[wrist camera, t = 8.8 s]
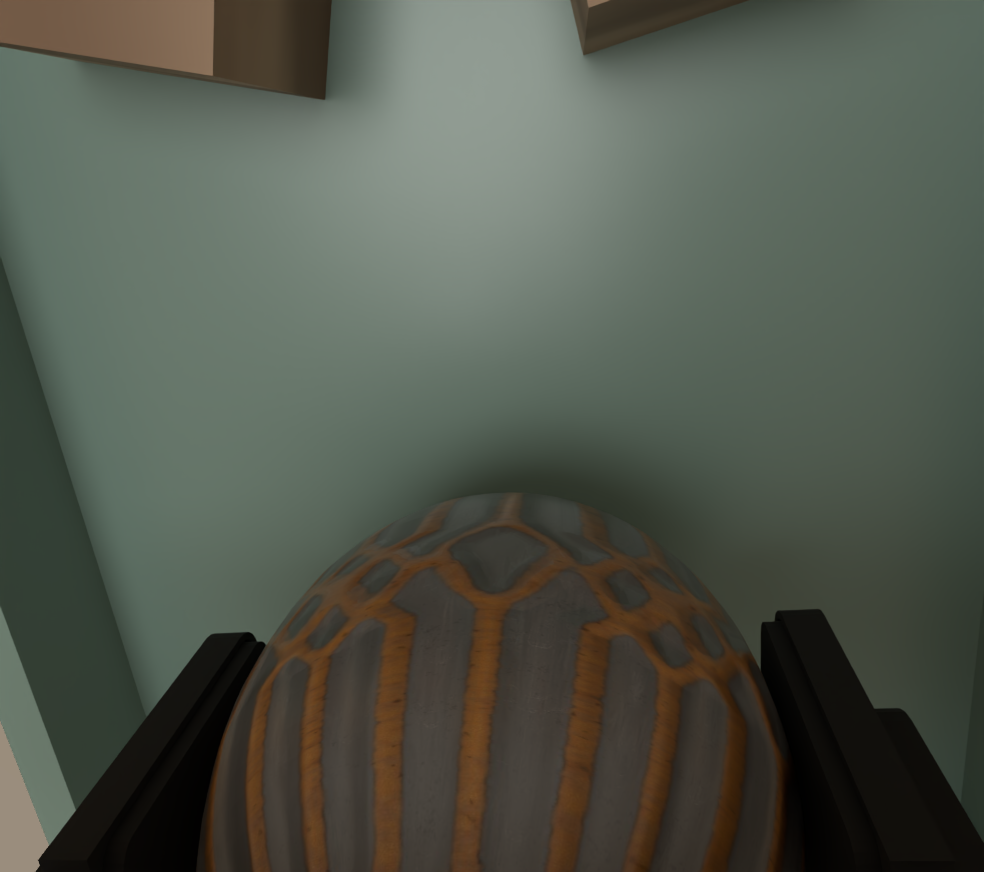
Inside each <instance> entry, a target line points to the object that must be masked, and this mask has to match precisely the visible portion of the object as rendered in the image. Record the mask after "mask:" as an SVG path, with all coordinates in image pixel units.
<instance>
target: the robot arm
mask: <svg viewBox="0 0 984 872" xmlns="http://www.w3.org/2000/svg"><path fill="white" fill-rule="evenodd" d="M265 646H266V644H265V643H264V642H262V641H257V640H256V638H255V636H254V635H253V634H252V633H250V632H234V633H214V634H211V635H210V636H208V637H207V638H206V640H205V641H204V642H203V644H202V645H201V646H200V648H199V649H198V650H197V652H196V653H195V654H194V655H193V657H192V658H191V659H190V661H189V662H188V663H187V665H186V666H185V667H184V669H183V670H182V671H181V673H180V674H179V675H178V677H177V678H176V679H175V680H174V682H173V683H172V684H171V686H170V687H169V688H168V690H167V691H166V692H165V694H164V695H163V696H162V698H161V699H160V700H159V702H158V703H157V704H156V706H155V707H154V708H153V709H152V711H151V712H150V713H149V715H148V716H147V717H146V719H145V720H144V721H143V723H142V724H141V725H140V727H139V728H138V729H137V731H136V732H135V733H134V734H133V736H132V737H131V738H130V740H129V741H128V742H127V744H126V745H125V746H124V748H123V749H122V750H121V752H120V753H119V754H118V756H117V757H116V758H115V760H114V761H113V762H112V763H111V765H110V766H109V767H108V769H107V770H106V771H105V773H104V774H103V775H102V777H101V778H100V779H99V781H98V782H97V783H96V785H95V786H94V787H93V788H92V790H91V791H90V792H89V794H88V795H87V796H86V798H85V799H84V800H83V802H82V803H81V804H80V806H79V807H78V808H77V810H76V811H75V812H74V814H73V815H72V816H71V817H70V819H69V820H68V821H67V823H66V824H65V825H64V827H63V828H62V829H61V831H60V832H59V833H58V835H57V836H56V837H55V839H54V840H53V841H52V842H51V844H50V845H49V846H48V848H47V849H46V850H45V852H44V853H43V854H42V856H41V857H40V858H39V860H38V861H39V864H40V866H39V868H38V869H37V870H36V872H196V865H197V856H198V848H199V840H200V832H201V824H202V818H203V813H204V808H205V803H206V798H207V793H208V788H209V784H210V779H211V775H212V771H213V767H214V764H215V760H216V756H217V753H218V749H219V746H220V743H221V740H222V737H223V734H224V731H225V728H226V725H227V723H228V720H229V717H230V715H231V712H232V710H233V707H234V705H235V702H236V700H237V698H238V696H239V693H240V691H241V689H242V687H243V685H244V683H245V681H246V679H247V678H248V676H249V674H250V672H251V670H252V669H253V667H254V665H255V663H256V662H257V660H258V658H259V656H260V655H261V653H262V651H263V649H264V648H265ZM761 673H762V675H763V677H764V679H765V681H766V684H767V686H768V689H769V691H770V693H771V696H772V698H773V701H774V703H775V706H776V708H777V711H778V714H779V716H780V719H781V721H782V724H783V727H784V731H785V734H786V738H787V741H788V744H789V748H790V751H791V755H792V758H793V762H794V766H795V769H796V774H797V780H798V787H799V793H800V799H801V806H802V812H803V819H804V834H805V855H806V872H984V842H983V841H982V839H981V837H980V835H979V834H978V832H977V830H976V829H975V827H974V825H973V824H972V822H971V820H970V818H969V817H968V815H967V813H966V812H965V810H964V808H963V807H962V805H961V803H960V801H959V800H958V798H957V796H956V795H955V793H954V791H953V790H952V788H951V786H950V784H949V783H948V781H947V779H946V778H945V776H944V774H943V772H942V771H941V769H940V767H939V766H938V764H937V762H936V761H935V759H934V757H933V755H932V754H931V752H930V750H929V749H928V747H927V745H926V744H925V742H924V740H923V738H922V737H921V735H920V733H919V732H918V730H917V728H916V727H915V725H914V723H913V721H912V720H911V719H910V717H909V716H908V714H907V713H906V712H905V711H904V710H902V709H900V708H878V709H874V707H873V705H872V703H871V701H870V700H869V698H868V696H867V694H866V692H865V690H864V688H863V686H862V685H861V683H860V681H859V679H858V677H857V675H856V673H855V671H854V669H853V668H852V666H851V664H850V662H849V660H848V658H847V656H846V654H845V653H844V651H843V649H842V647H841V645H840V643H839V641H838V639H837V638H836V636H835V634H834V632H833V630H832V628H831V626H830V624H829V623H828V621H827V619H826V617H825V615H824V613H823V612H822V611H821V610H820V609H803V610H778V611H777V612H776V614H775V621H773V622H762V624H761Z"/></svg>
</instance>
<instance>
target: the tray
mask: <svg viewBox="0 0 984 872" xmlns="http://www.w3.org/2000/svg"><path fill="white" fill-rule="evenodd" d="M507 492H512V493H532V494H542V495H548V496H554V497H559V498H563V499H567V500H571V501H575V502H578V503H581V504H584V505H587V506H590V507H593V508H596V509H598V510H601V511H603V512H606V513H608V514H611V515H613V516H615V517H617V518H619V519H621V520H623V521H625V522H627V523H629V524H631V525H632V526H634V527H636V528H637V529H639V530H641V531H642V532H644V533H645V534H647V535H648V536H650V537H651V538H653V539H654V540H655V541H657V542H658V543H659V544H661V545H662V546H663V547H664V548H666V549H667V550H668V551H669V552H670V553H672V554H673V555H674V556H675V557H676V558H678V559H679V560H680V561H681V562H682V563H684V564H685V565H686V566H687V567H688V568H689V569H690V570H691V571H692V572H693V573H694V574H695V575H696V576H697V577H698V578H699V579H700V580H701V581H702V583H703V584H704V585H705V586H706V587H707V588H708V589H709V591H710V592H711V593H712V594H713V596H714V597H715V598H716V599H717V600H718V602H719V603H720V604H721V605H722V606H723V608H724V609H725V611H726V612H727V613H728V615H729V616H730V617H731V619H732V620H733V621H734V623H735V624H736V626H737V628H738V629H739V631H740V633H741V634H742V636H743V638H744V639H745V641H746V643H747V645H748V647H749V649H750V651H751V653H752V655H753V657H754V659H755V660H756V662H757V664H758V667H759V669H760V671H761V624H762V622H773V621H775V614H776V612H777V611H778V610H803V609H820V610H821V611H822V612H823V613H824V615H825V617H826V619H827V621H828V623H829V624H830V626H831V628H832V630H833V632H834V634H835V636H836V638H837V639H838V641H839V643H840V645H841V647H842V649H843V651H844V653H845V654H846V656H847V658H848V660H849V662H850V664H851V666H852V668H853V669H854V671H855V673H856V675H857V677H858V679H859V681H860V683H861V685H862V686H863V688H864V690H865V692H866V694H867V696H868V698H869V700H870V701H871V703H872V705H873V707H874V709H878V708H900V709H902V710H904V711H905V712H906V713H907V714H908V716H909V717H910V719H911V720H912V721H913V723H914V725H915V727H916V728H917V730H918V732H919V733H920V735H921V737H922V738H923V740H924V742H925V744H926V745H927V747H928V749H929V750H930V752H931V754H932V755H933V757H934V759H935V761H936V762H937V764H938V766H939V767H940V769H941V771H942V772H943V774H944V776H945V778H946V779H947V781H948V783H949V784H950V786H951V788H952V790H953V791H954V793H955V795H956V796H957V798H958V800H959V801H960V803H961V805H962V807H963V808H964V810H965V812H966V813H967V815H968V817H969V818H970V820H971V822H972V824H973V825H974V827H975V829H976V830H977V832H978V834H979V835H980V837H981V839H982V841H983V842H984V0H748V1H745V2H742V3H739V4H736V5H733V6H730V7H727V8H724V9H721V10H718V11H715V12H712V13H709V14H706V15H703V16H700V17H697V18H694V19H691V20H688V21H685V22H682V23H679V24H676V25H673V26H670V27H667V28H664V29H661V30H658V31H655V32H652V33H649V34H646V35H643V36H640V37H637V38H634V39H631V40H628V41H625V42H622V43H619V44H616V45H613V46H610V47H607V48H604V49H601V50H598V51H595V52H592V53H589V54H586V55H583V52H582V48H581V44H580V40H579V35H578V31H577V27H576V23H575V18H574V14H573V10H572V5H571V1H570V0H332V4H331V19H330V34H329V49H328V64H327V79H326V94H325V100H321V99H314V98H308V97H302V96H296V95H289V94H283V93H277V92H270V91H264V90H258V89H251V88H245V87H239V86H232V85H226V84H220V83H213V82H207V81H201V80H195V79H188V78H182V77H176V76H169V75H163V74H157V73H150V72H144V71H138V70H131V69H125V68H119V67H112V66H106V65H100V64H94V63H87V62H81V61H75V60H69V59H64V58H59V57H53V56H48V55H43V54H37V53H32V52H26V51H21V50H16V49H10V48H5V47H0V721H1V724H2V726H3V729H4V731H5V734H6V736H7V739H8V742H9V744H10V747H11V749H12V751H13V754H14V757H15V759H16V762H17V765H18V767H19V770H20V772H21V775H22V777H23V779H24V782H25V785H26V787H27V790H28V793H29V795H30V798H31V800H32V803H33V805H34V808H35V810H36V813H37V816H38V818H39V821H40V823H41V826H42V828H43V831H44V833H45V836H46V838H47V841H48V843H49V845H50V844H51V842H52V841H53V840H54V839H55V837H56V836H57V835H58V833H59V832H60V831H61V829H62V828H63V827H64V825H65V824H66V823H67V821H68V820H69V819H70V817H71V816H72V815H73V814H74V812H75V811H76V810H77V808H78V807H79V806H80V804H81V803H82V802H83V800H84V799H85V798H86V796H87V795H88V794H89V792H90V791H91V790H92V788H93V787H94V786H95V785H96V783H97V782H98V781H99V779H100V778H101V777H102V775H103V774H104V773H105V771H106V770H107V769H108V767H109V766H110V765H111V763H112V762H113V761H114V760H115V758H116V757H117V756H118V754H119V753H120V752H121V750H122V749H123V748H124V746H125V745H126V744H127V742H128V741H129V740H130V738H131V737H132V736H133V734H134V733H135V732H136V731H137V729H138V728H139V727H140V725H141V724H142V723H143V721H144V720H145V719H146V717H147V716H148V715H149V713H150V712H151V711H152V709H153V708H154V707H155V706H156V704H157V703H158V702H159V700H160V699H161V698H162V696H163V695H164V694H165V692H166V691H167V690H168V688H169V687H170V686H171V684H172V683H173V682H174V680H175V679H176V678H177V677H178V675H179V674H180V673H181V671H182V670H183V669H184V667H185V666H186V665H187V663H188V662H189V661H190V659H191V658H192V657H193V655H194V654H195V653H196V652H197V650H198V649H199V648H200V646H201V645H202V644H203V642H204V641H205V640H206V638H207V637H208V636H210V635H211V634H214V633H234V632H250V633H252V634H253V635H254V636H255V638H256V640H257V641H262V642H264V643H265V644H266V645H267V643H268V642H269V640H270V639H271V637H272V636H273V635H274V633H275V632H276V630H277V629H278V627H279V626H280V624H281V623H282V622H283V620H284V619H285V617H286V616H287V615H288V613H289V612H290V610H291V609H292V608H293V607H294V606H295V604H296V603H297V602H298V601H299V600H300V598H301V597H302V596H303V595H304V594H305V593H306V591H307V590H308V589H309V588H310V587H311V586H312V584H313V583H314V582H315V581H316V580H317V579H318V577H319V576H321V575H322V574H323V573H324V572H325V571H326V570H327V569H328V568H329V567H330V566H331V565H332V564H333V563H335V562H336V561H337V560H338V559H340V558H341V557H342V556H343V555H345V554H346V553H347V552H348V551H350V550H351V549H352V548H354V547H355V546H356V545H357V544H359V543H360V542H361V541H363V540H364V539H366V538H367V537H369V536H370V535H372V534H373V533H375V532H376V531H378V530H380V529H382V528H383V527H385V526H387V525H389V524H391V523H393V522H395V521H397V520H399V519H401V518H403V517H405V516H407V515H409V514H411V513H413V512H416V511H418V510H420V509H423V508H426V507H428V506H431V505H434V504H437V503H441V502H444V501H448V500H451V499H456V498H461V497H466V496H472V495H481V494H489V493H507Z"/></svg>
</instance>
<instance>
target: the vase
mask: <svg viewBox="0 0 984 872" xmlns="http://www.w3.org/2000/svg"><path fill="white" fill-rule="evenodd" d="M196 872H806V855H805V834H804V819H803V812H802V806H801V799H800V793H799V787H798V780H797V774H796V769H795V766H794V762H793V758H792V755H791V751H790V748H789V744H788V741H787V738H786V734H785V731H784V727H783V724H782V721H781V719H780V716H779V714H778V711H777V708H776V706H775V703H774V701H773V698H772V696H771V693H770V691H769V689H768V686H767V684H766V681H765V679H764V677H763V675H762V673H761V671H760V669H759V667H758V664H757V662H756V660H755V659H754V657H753V655H752V653H751V651H750V649H749V647H748V645H747V643H746V641H745V639H744V638H743V636H742V634H741V633H740V631H739V629H738V628H737V626H736V624H735V623H734V621H733V620H732V619H731V617H730V616H729V615H728V613H727V612H726V611H725V609H724V608H723V606H722V605H721V604H720V603H719V602H718V600H717V599H716V598H715V597H714V596H713V594H712V593H711V592H710V591H709V589H708V588H707V587H706V586H705V585H704V584H703V583H702V581H701V580H700V579H699V578H698V577H697V576H696V575H695V574H694V573H693V572H692V571H691V570H690V569H689V568H688V567H687V566H686V565H685V564H684V563H682V562H681V561H680V560H679V559H678V558H676V557H675V556H674V555H673V554H672V553H670V552H669V551H668V550H667V549H666V548H664V547H663V546H662V545H661V544H659V543H658V542H657V541H655V540H654V539H653V538H651V537H650V536H648V535H647V534H645V533H644V532H642V531H641V530H639V529H637V528H636V527H634V526H632V525H631V524H629V523H627V522H625V521H623V520H621V519H619V518H617V517H615V516H613V515H611V514H608V513H606V512H603V511H601V510H598V509H596V508H593V507H590V506H587V505H584V504H581V503H578V502H575V501H571V500H567V499H563V498H559V497H554V496H548V495H542V494H532V493H512V492H507V493H489V494H481V495H472V496H466V497H461V498H456V499H451V500H448V501H444V502H441V503H437V504H434V505H431V506H428V507H426V508H423V509H420V510H418V511H416V512H413V513H411V514H409V515H407V516H405V517H403V518H401V519H399V520H397V521H395V522H393V523H391V524H389V525H387V526H385V527H383V528H382V529H380V530H378V531H376V532H375V533H373V534H372V535H370V536H369V537H367V538H366V539H364V540H363V541H361V542H360V543H359V544H357V545H356V546H355V547H354V548H352V549H351V550H350V551H348V552H347V553H346V554H345V555H343V556H342V557H341V558H340V559H338V560H337V561H336V562H335V563H333V564H332V565H331V566H330V567H329V568H328V569H327V570H326V571H325V572H324V573H323V574H322V575H321V576H319V577H318V579H317V580H316V581H315V582H314V583H313V584H312V586H311V587H310V588H309V589H308V590H307V591H306V593H305V594H304V595H303V596H302V597H301V598H300V600H299V601H298V602H297V603H296V604H295V606H294V607H293V608H292V609H291V610H290V612H289V613H288V615H287V616H286V617H285V619H284V620H283V622H282V623H281V624H280V626H279V627H278V629H277V630H276V632H275V633H274V635H273V636H272V637H271V639H270V640H269V642H268V643H267V645H266V646H265V648H264V649H263V651H262V653H261V655H260V656H259V658H258V660H257V662H256V663H255V665H254V667H253V669H252V670H251V672H250V674H249V676H248V678H247V679H246V681H245V683H244V685H243V687H242V689H241V691H240V693H239V696H238V698H237V700H236V702H235V705H234V707H233V710H232V712H231V715H230V717H229V720H228V723H227V725H226V728H225V731H224V734H223V737H222V740H221V743H220V746H219V749H218V753H217V756H216V760H215V764H214V767H213V771H212V775H211V779H210V784H209V788H208V793H207V798H206V803H205V808H204V813H203V818H202V824H201V832H200V840H199V848H198V856H197V865H196Z"/></svg>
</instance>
